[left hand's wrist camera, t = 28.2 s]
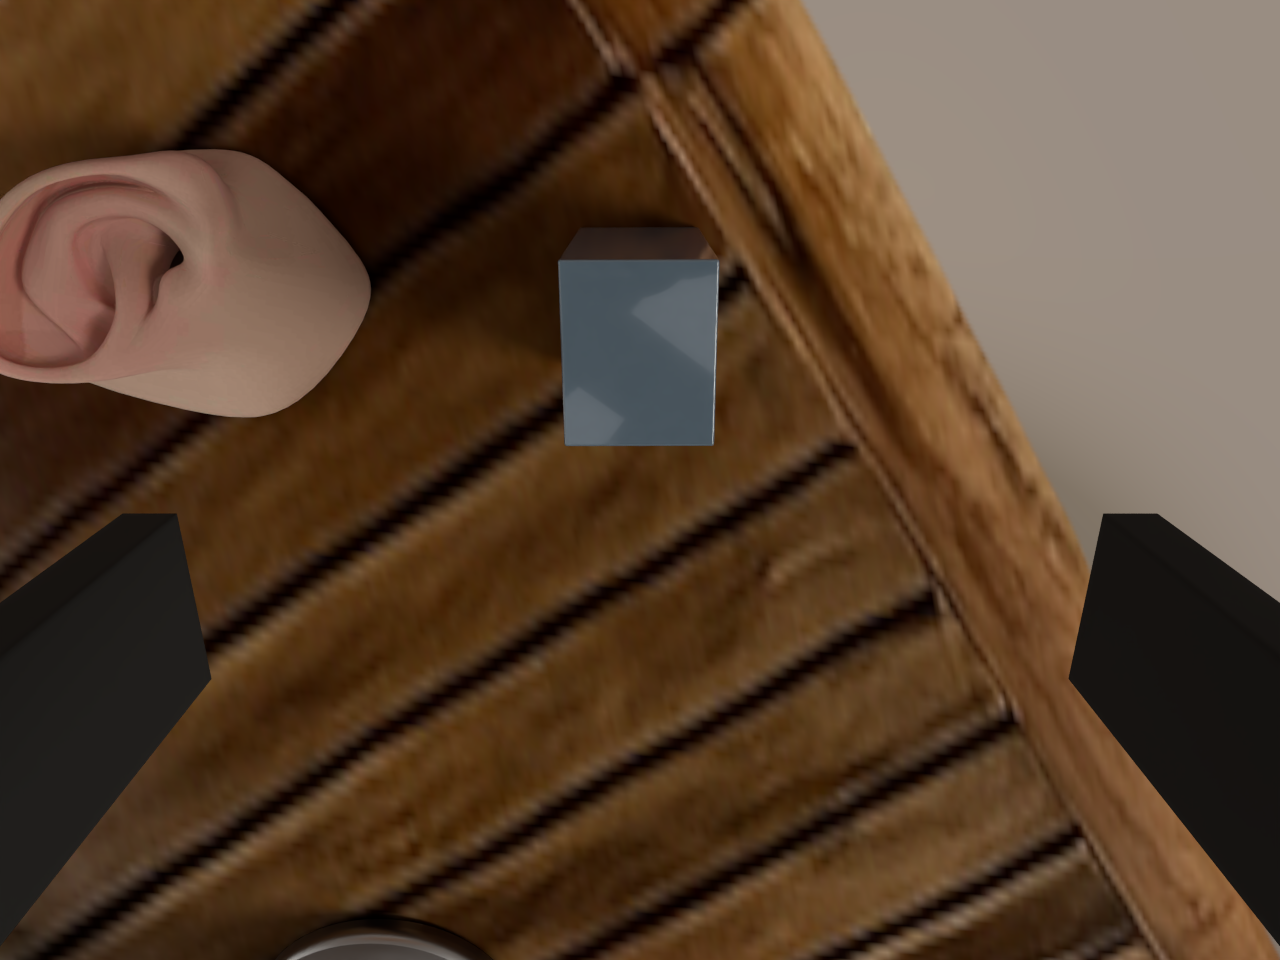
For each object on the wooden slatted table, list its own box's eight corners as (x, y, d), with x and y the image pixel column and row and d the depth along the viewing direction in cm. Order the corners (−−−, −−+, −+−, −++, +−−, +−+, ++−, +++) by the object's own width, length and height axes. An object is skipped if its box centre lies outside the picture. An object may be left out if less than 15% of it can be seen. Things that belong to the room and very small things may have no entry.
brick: (698, 227, 35) (719, 259, 26) (695, 369, 37) (714, 446, 28) (579, 227, 35) (557, 260, 26) (583, 369, 37) (564, 446, 28)
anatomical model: (369, 232, 31) (277, 506, 35) (398, 221, 34) (312, 470, 38) (-19, 57, 29) (-71, 368, 32) (57, 66, 32) (2, 345, 36)
